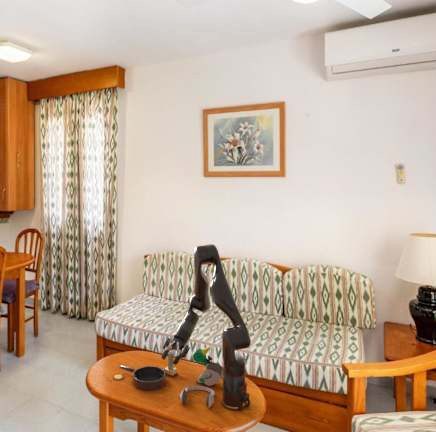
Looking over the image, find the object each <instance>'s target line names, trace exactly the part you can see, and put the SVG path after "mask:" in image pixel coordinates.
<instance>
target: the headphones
mask: <svg viewBox="0 0 436 432" xmlns="http://www.w3.org/2000/svg"><path fill="white" fill-rule="evenodd" d="M194 390H200V391H205V392H207V393H208V394H207V395H206V399H205V405H206V407H207V408H208V409H209V408H211V407H212V405H214V402H215V400H214V398H215V393H216V391H215V390H213V389H212V388H210V387H209V386H203V385H190V386H187V387H185V388H184V389H182V391H181V392H180V394H179V401H180V403H181V405H184V404H186V402H187V399H188V391H194ZM169 401H170V402H171V401H172V398H171V399H170V400H169Z"/></svg>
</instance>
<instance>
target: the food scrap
mask: <svg viewBox="0 0 436 432" xmlns="http://www.w3.org/2000/svg"><path fill="white" fill-rule="evenodd" d="M123 377H124V376H123V374H115V375H114V376H113V378H114V379H115V380H121V379H123Z"/></svg>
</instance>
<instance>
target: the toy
mask: <svg viewBox="0 0 436 432" xmlns="http://www.w3.org/2000/svg"><path fill="white" fill-rule="evenodd" d="M210 350H211V346H208V347H205V348H204V349H201V348H197V349H196V350H195V352H193V354H192V359H193V361H194V362H195V363H199V364H201V363H202V365H203V366H204V367H205V368H204V370H203V371H202V372H201V374H200V375H199V376H198V378H197V380H198V381H197V383H198V384H204V385H206V386H207V387H210V386H213V385H216V384H218V385H219V386H220V387H221V388H222V389H223V383H221V382H219V381H220V380H221V379H222V380H223V366H222V365H221V364H220V363H218V362H213V361H212V360H213V358H212V357H211V356H210V355H208V356H206V355H207V354H208V353H209V352H210Z"/></svg>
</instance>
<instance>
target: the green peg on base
mask: <svg viewBox="0 0 436 432" xmlns="http://www.w3.org/2000/svg"><path fill="white" fill-rule="evenodd" d="M173 361H174V352H173V351H170V352H168V355H167V366H166V367H165V368H164V369H163V370H164V371H165V372H166V376H169V377H172V378H173V377H175V376H176V375H178V368H177V367H174V364H173Z"/></svg>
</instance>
